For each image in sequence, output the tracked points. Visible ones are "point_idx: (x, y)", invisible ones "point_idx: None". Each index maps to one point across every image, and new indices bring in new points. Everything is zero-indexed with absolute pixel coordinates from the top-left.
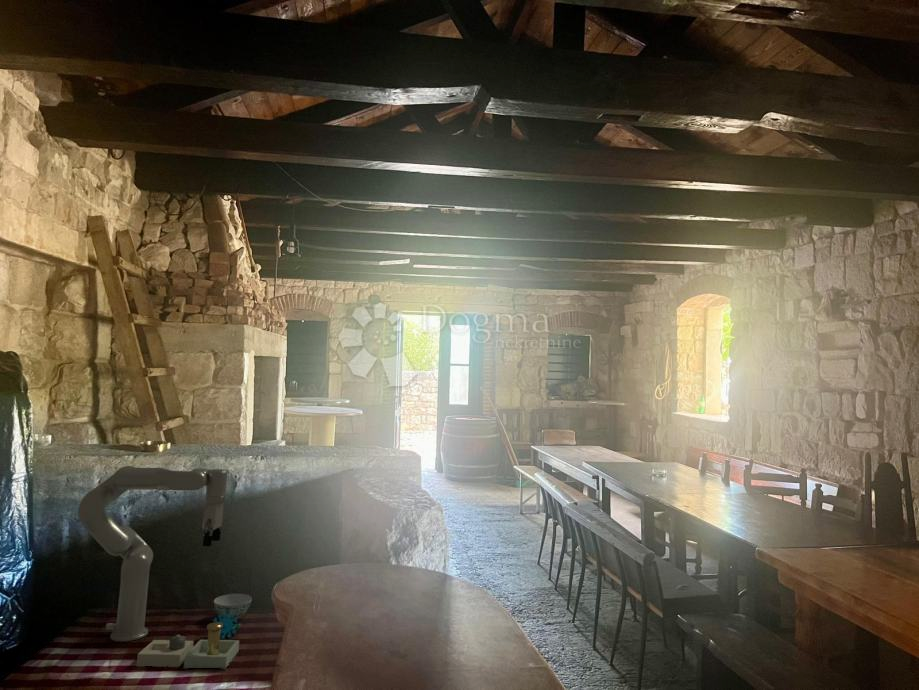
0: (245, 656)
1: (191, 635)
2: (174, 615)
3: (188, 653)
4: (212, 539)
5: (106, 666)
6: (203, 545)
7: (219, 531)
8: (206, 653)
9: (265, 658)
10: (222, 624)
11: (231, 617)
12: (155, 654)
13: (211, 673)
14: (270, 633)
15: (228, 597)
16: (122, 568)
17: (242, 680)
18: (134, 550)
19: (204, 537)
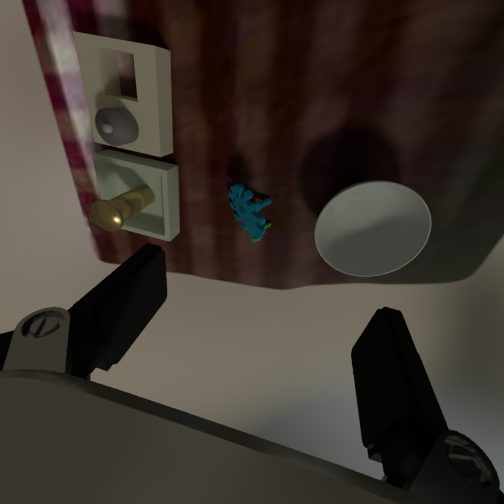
0: (164, 242)
1: (263, 130)
2: (468, 20)
3: (103, 158)
4: (378, 316)
5: None
6: (149, 247)
7: (363, 444)
8: (161, 182)
9: None
10: (111, 230)
11: (257, 229)
12: (83, 83)
13: None
14: (255, 279)
15: (424, 217)
16: None
17: (94, 239)
18: None
19: (92, 299)
